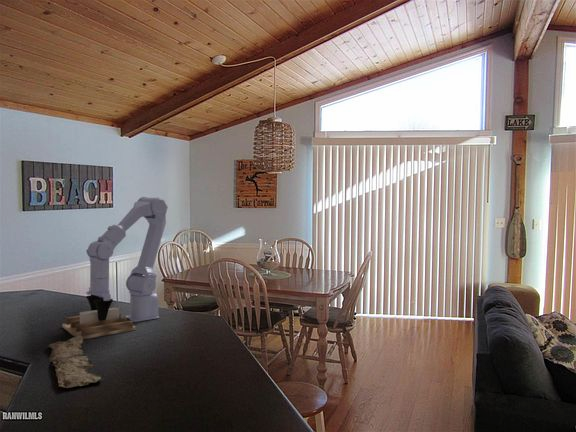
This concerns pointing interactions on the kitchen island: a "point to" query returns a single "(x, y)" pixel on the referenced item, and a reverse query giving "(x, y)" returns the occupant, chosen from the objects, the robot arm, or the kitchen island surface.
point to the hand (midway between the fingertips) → (99, 318)
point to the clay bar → (93, 315)
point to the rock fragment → (71, 363)
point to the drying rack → (97, 327)
